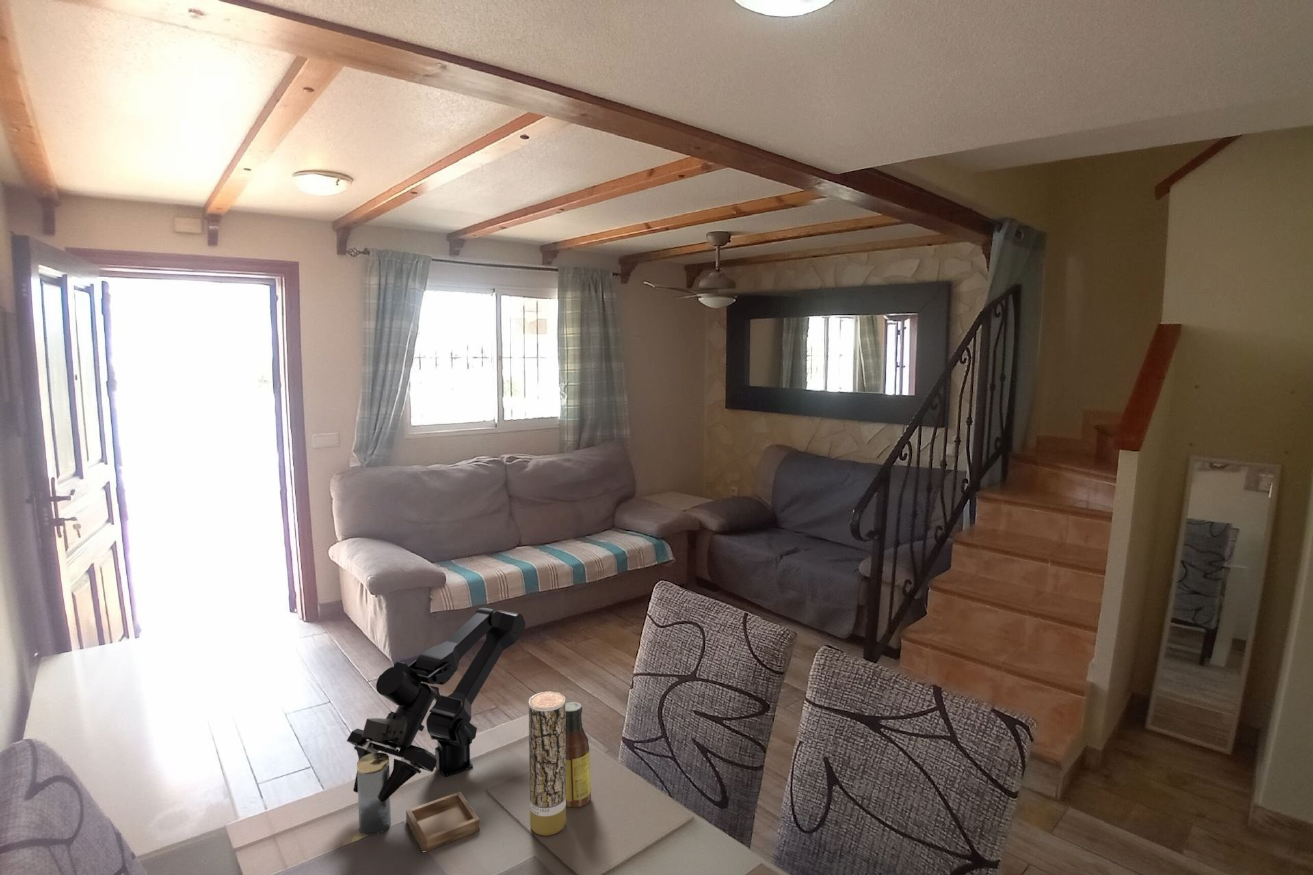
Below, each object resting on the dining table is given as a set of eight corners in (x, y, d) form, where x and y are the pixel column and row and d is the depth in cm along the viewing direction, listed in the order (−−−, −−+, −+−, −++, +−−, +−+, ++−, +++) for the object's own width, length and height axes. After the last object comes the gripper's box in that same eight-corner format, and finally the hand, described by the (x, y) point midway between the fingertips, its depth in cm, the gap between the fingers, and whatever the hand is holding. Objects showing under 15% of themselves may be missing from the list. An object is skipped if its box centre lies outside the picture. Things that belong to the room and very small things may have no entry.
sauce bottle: (593, 791, 139) (593, 699, 137) (587, 810, 133) (587, 714, 131) (562, 789, 140) (562, 697, 138) (555, 808, 134) (554, 712, 132)
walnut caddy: (460, 801, 136) (460, 791, 135) (479, 830, 127) (479, 819, 127) (406, 821, 129) (406, 810, 129) (422, 852, 121) (422, 841, 121)
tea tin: (386, 812, 132) (384, 749, 131) (394, 827, 128) (392, 762, 126) (356, 822, 129) (354, 758, 128) (362, 839, 124) (360, 772, 123)
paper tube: (558, 839, 124) (558, 710, 122) (524, 834, 126) (523, 706, 124) (570, 816, 131) (570, 693, 129) (537, 811, 132) (536, 689, 130)
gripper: (352, 689, 134) (305, 771, 125) (424, 708, 126) (380, 797, 117) (384, 709, 141) (342, 788, 132) (454, 729, 134) (414, 814, 125)
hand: (368, 796), depth 126 cm, fingers open, 6 cm apart
